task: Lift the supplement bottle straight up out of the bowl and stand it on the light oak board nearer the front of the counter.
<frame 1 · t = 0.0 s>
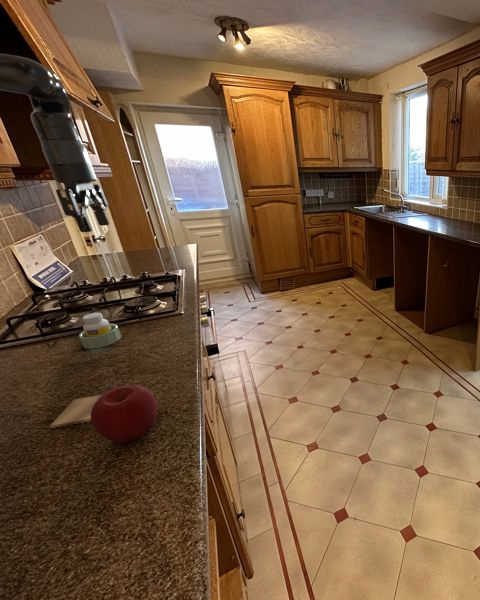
hand: (96, 228, 84), 33 cm above the worktop, tool pointing down, fingers open, 8 cm apart
supplement bottle: (105, 346, 93), resting in bowl
board: (92, 410, 70), on the worktop
bowl: (105, 345, 93), on the worktop
apple: (136, 433, 64), on the worktop
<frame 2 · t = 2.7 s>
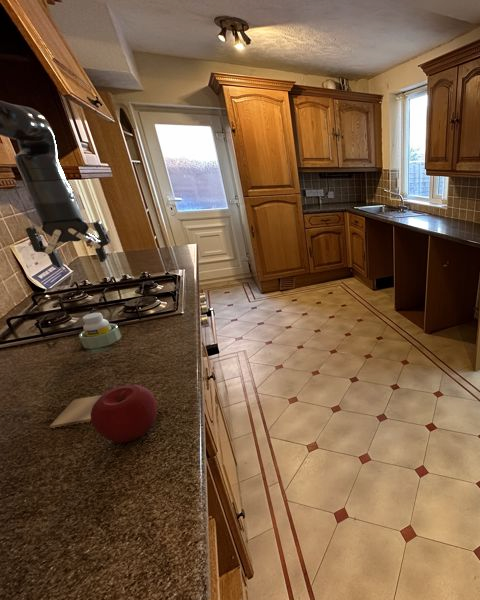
hand: (82, 263, 85), 24 cm above the worktop, tool pointing down, fingers open, 8 cm apart
nothing on the worktop moved.
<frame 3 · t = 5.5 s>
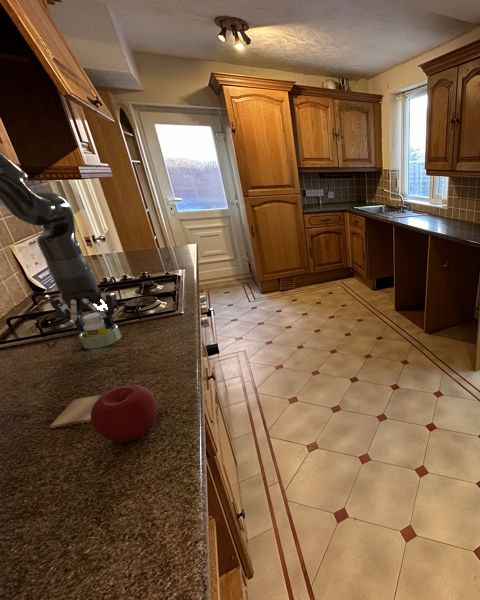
hand: (97, 329, 91), 5 cm above the worktop, tool pointing down, fingers closed on supplement bottle, 5 cm apart
supplement bottle: (105, 346, 93), resting in bowl, touching gripper
everything else where it was.
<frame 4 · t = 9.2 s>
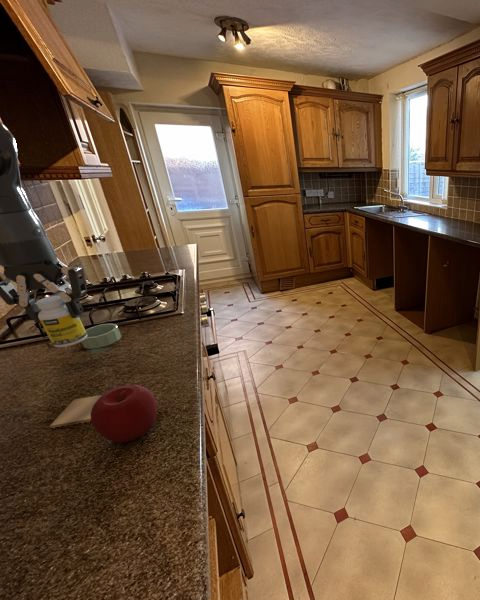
hand: (59, 318, 66), 20 cm above the worktop, tool pointing down, fingers closed on supplement bottle, 5 cm apart
supplement bottle: (71, 341, 68), point 14 cm above the worktop, touching gripper
everything else where it was.
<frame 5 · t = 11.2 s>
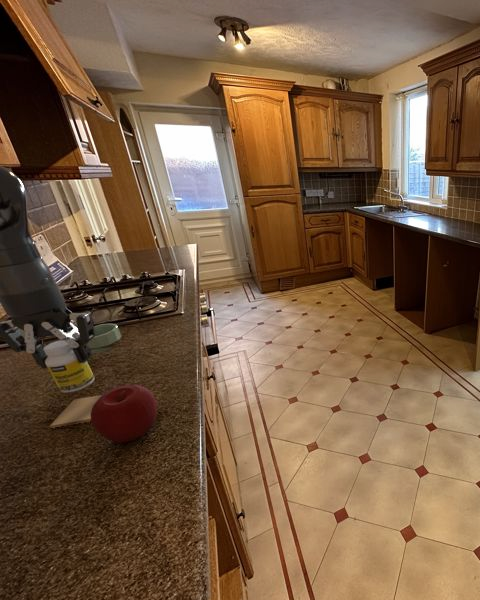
hand: (66, 363, 65), 12 cm above the worktop, tool pointing down, fingers closed on supplement bottle, 5 cm apart
supplement bottle: (78, 385, 67), point 7 cm above the worktop, touching gripper
everything else where it was.
when the fingers open (6 cm above the worktop, at t = 13.1 s): supplement bottle stays where it is, resting on board.
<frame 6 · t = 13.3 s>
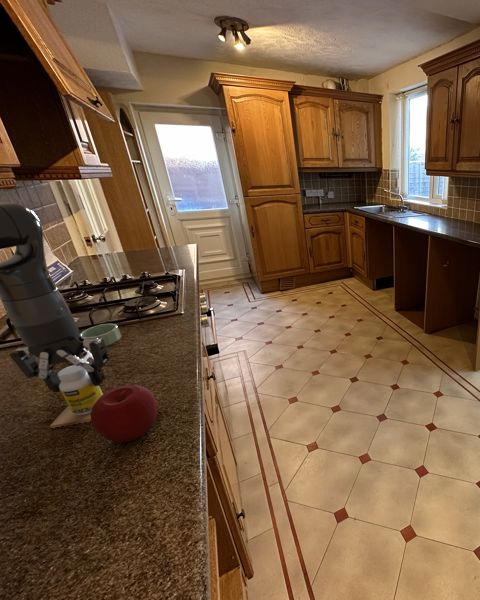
hand: (79, 386, 67), 6 cm above the worktop, tool pointing down, fingers open, 6 cm apart
supplement bottle: (90, 407, 69), point 1 cm above the worktop, touching board
everything else where it was.
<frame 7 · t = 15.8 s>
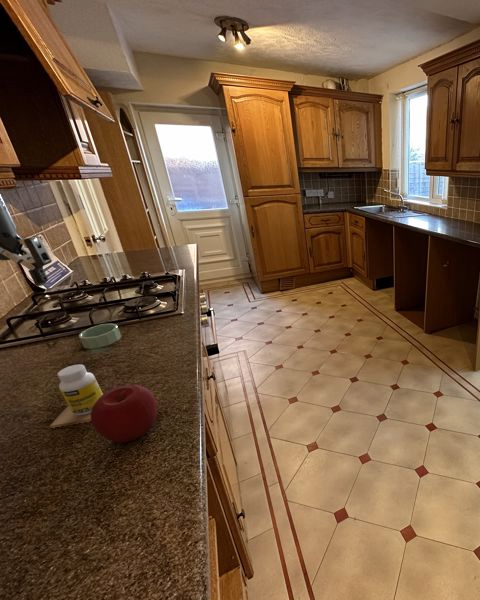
hand: (17, 286, 69), 25 cm above the worktop, tool pointing down, fingers open, 8 cm apart
nothing on the worktop moved.
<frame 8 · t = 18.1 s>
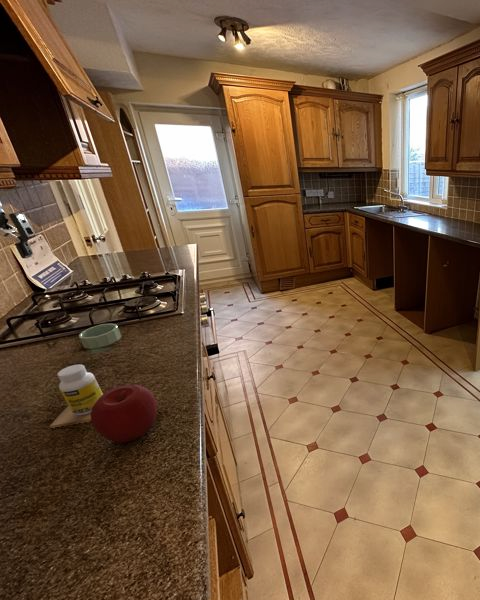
hand: (4, 259, 76), 28 cm above the worktop, tool pointing down, fingers open, 8 cm apart
nothing on the worktop moved.
at the end: supplement bottle inside the target area on the board (0.1 cm from its centre), point 0.6 cm above the board's base; supplement bottle tilted 0°; the gripper is holding nothing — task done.
